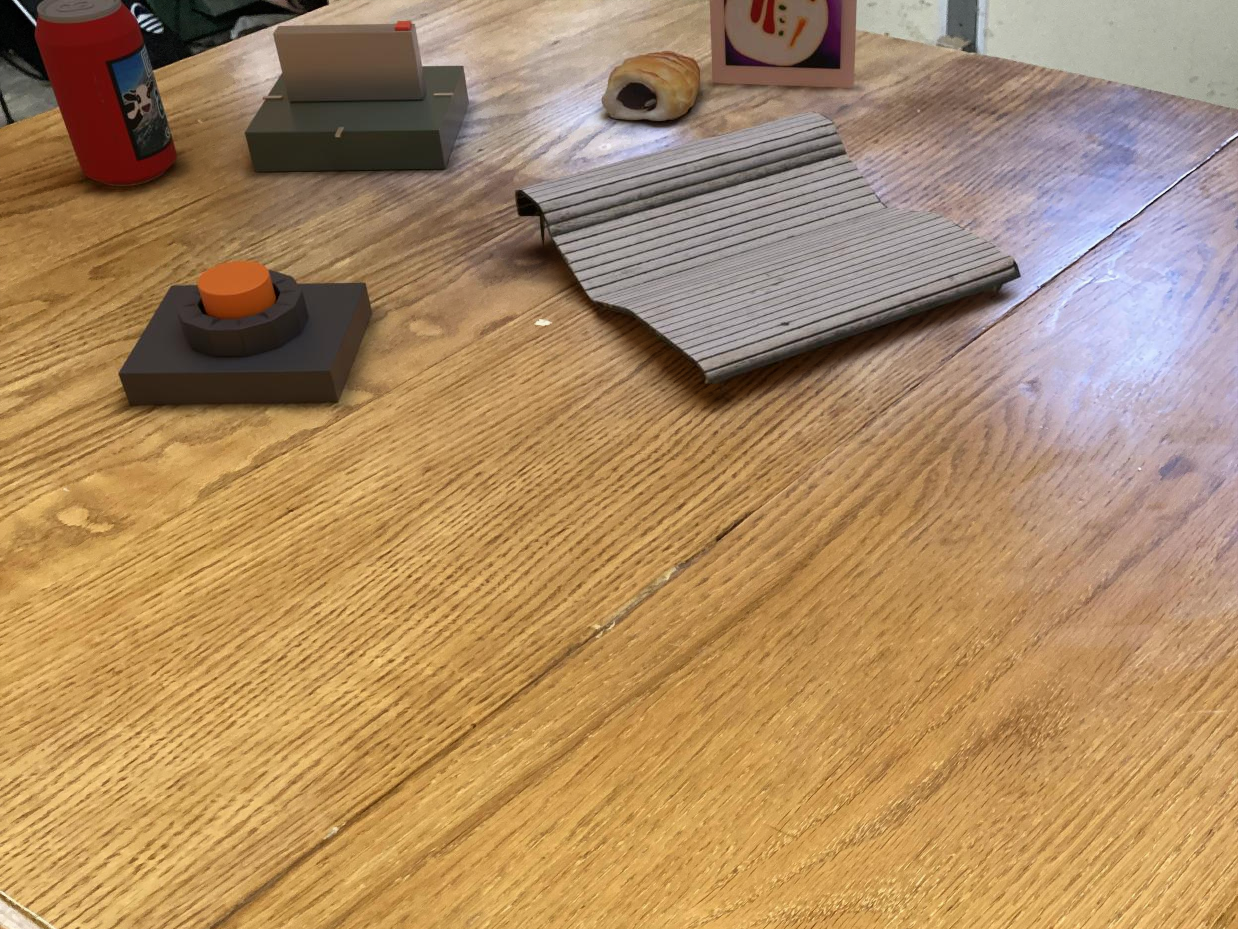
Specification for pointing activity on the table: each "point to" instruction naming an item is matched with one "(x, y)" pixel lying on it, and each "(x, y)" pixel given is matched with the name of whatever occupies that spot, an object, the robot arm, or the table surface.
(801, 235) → the mat
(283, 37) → the grey rectangular slab
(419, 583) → the table surface
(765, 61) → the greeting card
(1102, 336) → the table surface
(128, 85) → the beverage can
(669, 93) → the pastry
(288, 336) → the button box
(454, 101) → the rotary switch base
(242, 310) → the button
